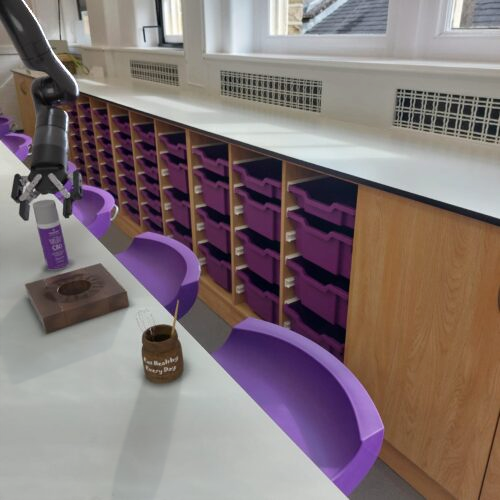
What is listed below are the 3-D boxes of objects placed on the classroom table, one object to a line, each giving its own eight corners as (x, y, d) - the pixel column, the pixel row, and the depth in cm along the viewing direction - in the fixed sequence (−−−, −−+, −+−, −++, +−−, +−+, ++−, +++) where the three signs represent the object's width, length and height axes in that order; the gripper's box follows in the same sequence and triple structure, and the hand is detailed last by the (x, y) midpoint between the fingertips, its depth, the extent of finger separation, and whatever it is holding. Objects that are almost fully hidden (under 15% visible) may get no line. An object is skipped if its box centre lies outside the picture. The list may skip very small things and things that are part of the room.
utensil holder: (147, 361, 76) (136, 295, 71) (187, 358, 77) (179, 291, 72) (142, 386, 71) (130, 316, 66) (185, 383, 71) (177, 313, 66)
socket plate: (46, 335, 84) (42, 317, 83) (28, 299, 95) (24, 284, 94) (129, 307, 91) (126, 291, 90) (103, 277, 103) (100, 262, 101)
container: (59, 272, 106) (44, 207, 99) (42, 270, 107) (26, 205, 101) (73, 263, 110) (60, 200, 103) (57, 261, 111) (42, 198, 105)
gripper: (10, 144, 104) (2, 212, 99) (77, 140, 105) (74, 208, 99) (24, 162, 111) (18, 227, 106) (87, 158, 112) (85, 223, 106)
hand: (45, 218), depth 103 cm, fingers open, 8 cm apart
